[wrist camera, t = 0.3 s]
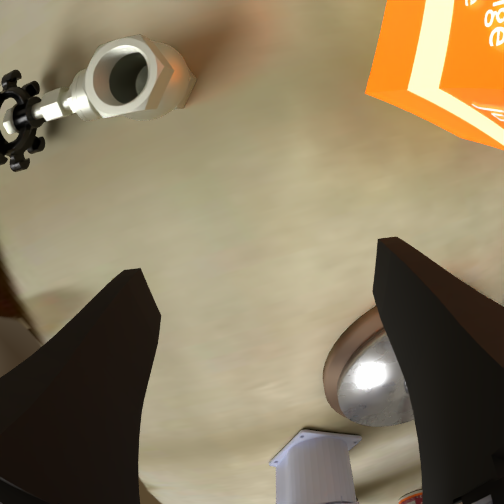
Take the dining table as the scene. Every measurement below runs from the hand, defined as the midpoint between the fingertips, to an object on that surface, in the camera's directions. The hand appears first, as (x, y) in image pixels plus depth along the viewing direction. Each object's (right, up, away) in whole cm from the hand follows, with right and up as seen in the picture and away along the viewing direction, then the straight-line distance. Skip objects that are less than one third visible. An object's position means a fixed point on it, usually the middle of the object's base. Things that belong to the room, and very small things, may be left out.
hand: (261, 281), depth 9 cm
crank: (+14, -10, +14) cm, 22 cm away
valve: (-9, +11, +7) cm, 16 cm away
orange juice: (+11, +13, +5) cm, 18 cm away
